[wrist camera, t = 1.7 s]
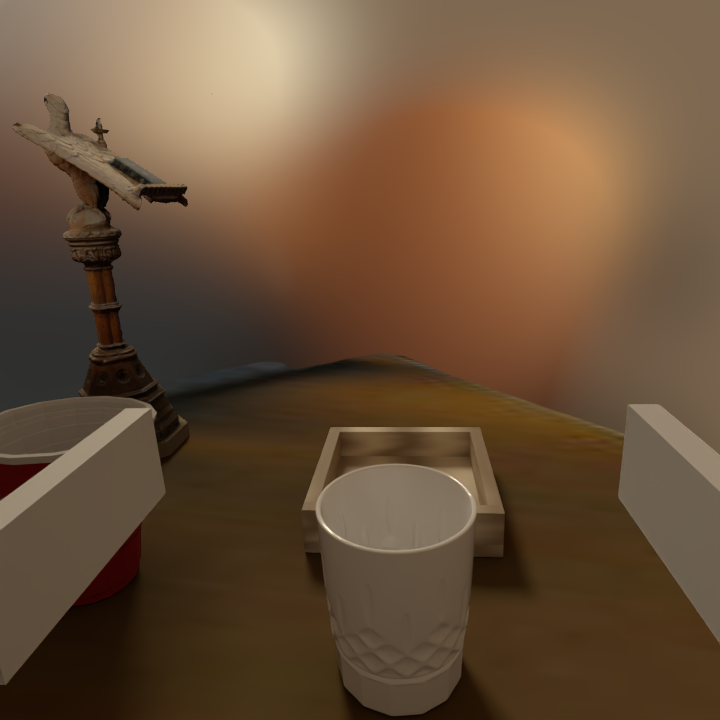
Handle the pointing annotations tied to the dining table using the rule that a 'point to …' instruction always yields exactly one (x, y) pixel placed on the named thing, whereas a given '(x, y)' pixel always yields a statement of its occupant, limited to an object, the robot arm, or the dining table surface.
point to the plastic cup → (49, 442)
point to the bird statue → (107, 257)
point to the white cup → (398, 582)
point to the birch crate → (416, 447)
